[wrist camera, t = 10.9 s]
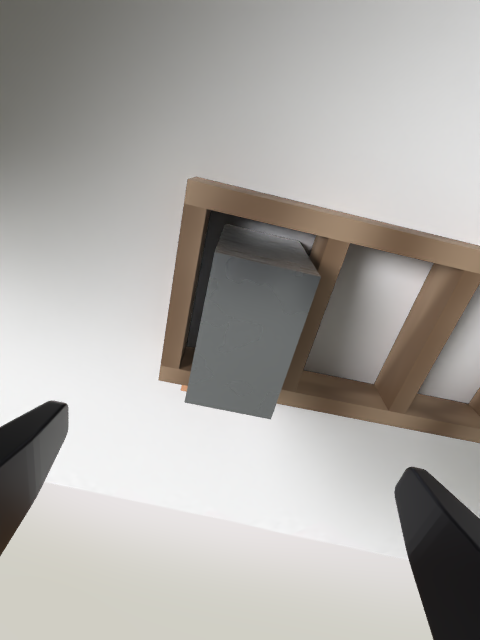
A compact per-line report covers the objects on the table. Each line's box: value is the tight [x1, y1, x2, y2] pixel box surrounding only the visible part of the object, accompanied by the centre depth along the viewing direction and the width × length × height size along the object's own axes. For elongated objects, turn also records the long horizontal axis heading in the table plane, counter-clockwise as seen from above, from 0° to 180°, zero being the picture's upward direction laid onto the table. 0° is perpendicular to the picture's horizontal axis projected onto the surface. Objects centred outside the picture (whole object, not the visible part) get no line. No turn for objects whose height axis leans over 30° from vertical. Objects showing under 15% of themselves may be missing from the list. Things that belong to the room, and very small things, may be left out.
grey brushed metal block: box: [185, 224, 321, 419], centre depth 16 cm, size 4×7×6 cm, turn 167°
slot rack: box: [159, 177, 480, 443], centre depth 18 cm, size 21×11×2 cm, turn 77°
